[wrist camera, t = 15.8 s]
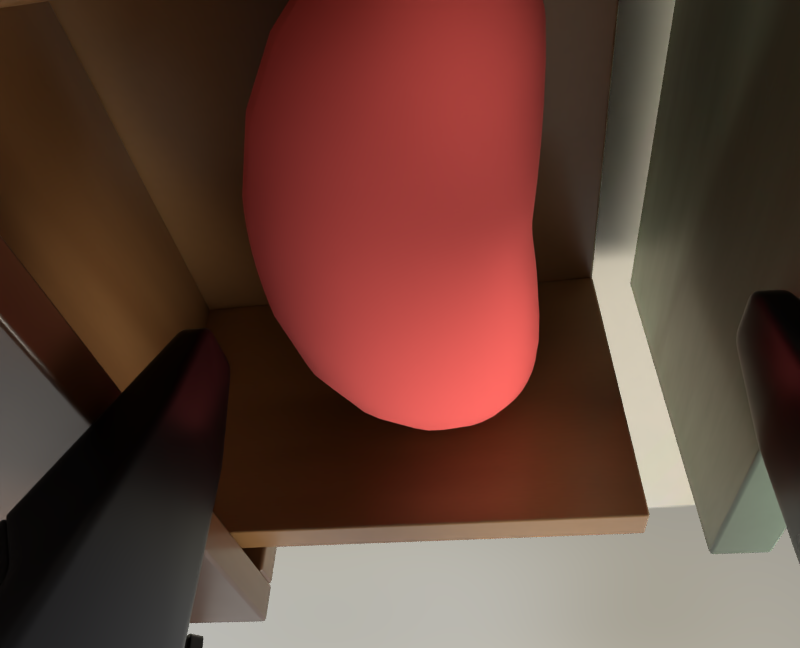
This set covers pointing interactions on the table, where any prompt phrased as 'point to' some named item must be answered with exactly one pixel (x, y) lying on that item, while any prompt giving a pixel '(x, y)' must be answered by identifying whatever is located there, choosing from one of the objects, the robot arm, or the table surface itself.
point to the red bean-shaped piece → (401, 199)
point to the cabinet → (72, 415)
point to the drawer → (553, 244)
